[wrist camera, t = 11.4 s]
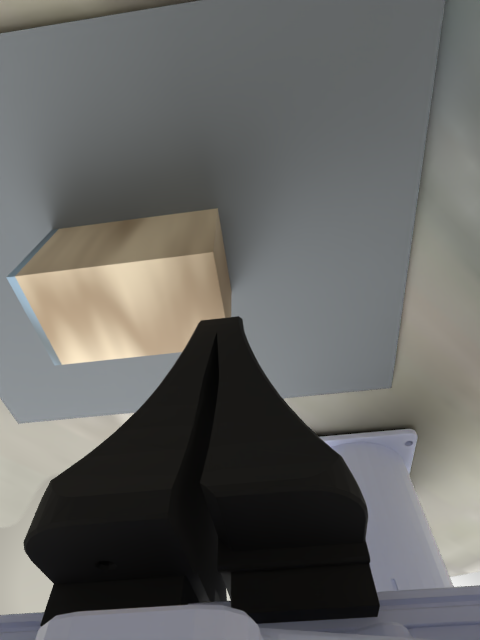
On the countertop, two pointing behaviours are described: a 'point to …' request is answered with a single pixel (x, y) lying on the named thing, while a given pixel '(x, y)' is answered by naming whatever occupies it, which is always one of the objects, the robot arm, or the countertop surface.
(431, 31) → the rubber mat
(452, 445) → the countertop surface
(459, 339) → the countertop surface
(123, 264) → the beech block
